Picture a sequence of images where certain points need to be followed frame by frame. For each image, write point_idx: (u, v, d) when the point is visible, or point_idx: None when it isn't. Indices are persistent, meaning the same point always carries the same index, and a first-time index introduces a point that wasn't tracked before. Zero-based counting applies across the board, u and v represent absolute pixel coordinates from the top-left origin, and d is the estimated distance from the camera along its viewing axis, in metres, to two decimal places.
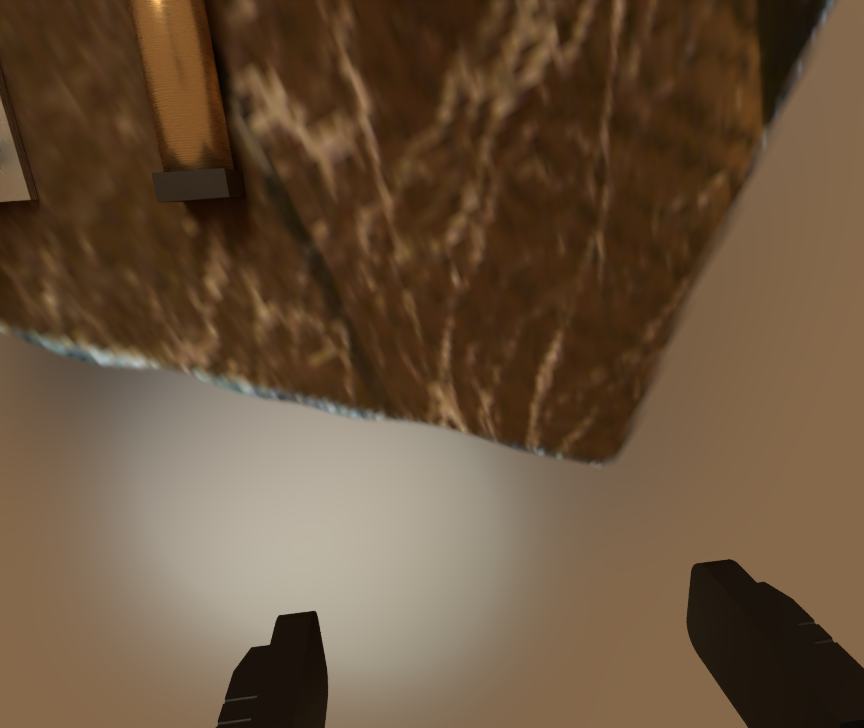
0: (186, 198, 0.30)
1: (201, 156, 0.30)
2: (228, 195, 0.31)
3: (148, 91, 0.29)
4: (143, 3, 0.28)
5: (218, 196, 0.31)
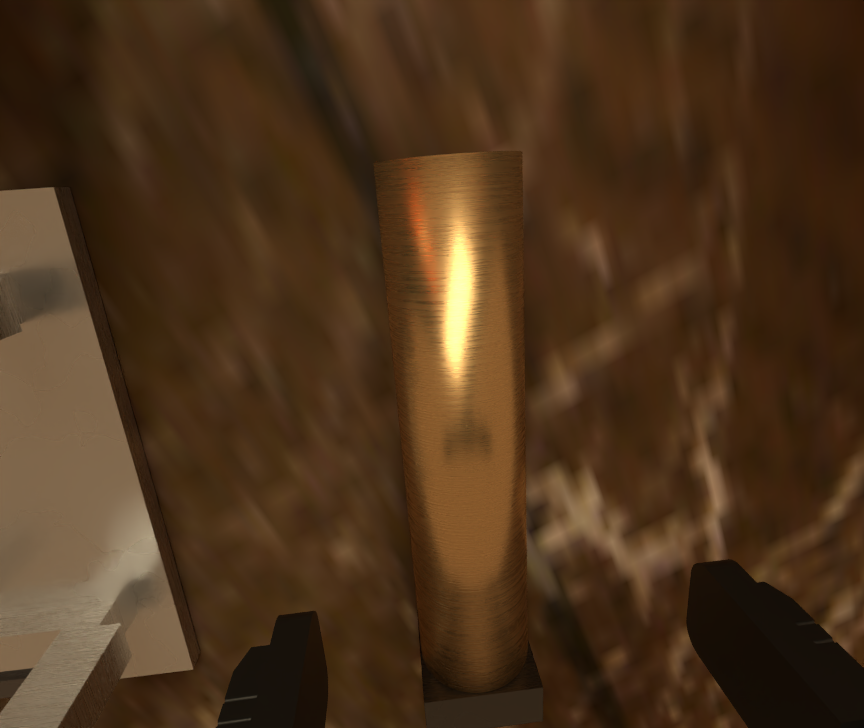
0: None
1: (505, 668, 0.18)
2: (541, 718, 0.18)
3: (426, 578, 0.17)
4: (451, 479, 0.15)
5: (525, 722, 0.18)
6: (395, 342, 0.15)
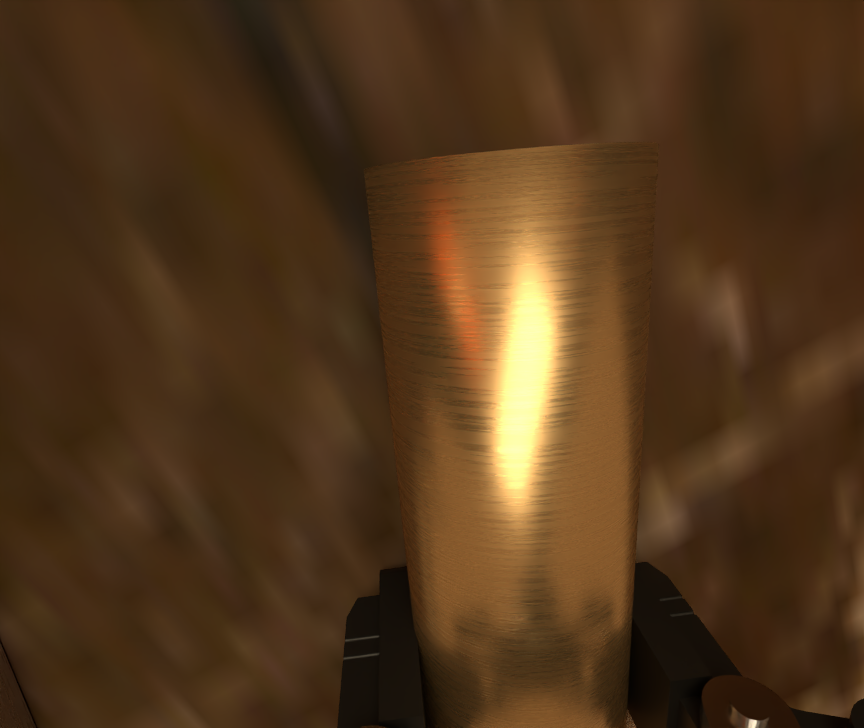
0: None
1: None
2: None
3: None
4: None
5: None
6: (407, 499, 0.08)
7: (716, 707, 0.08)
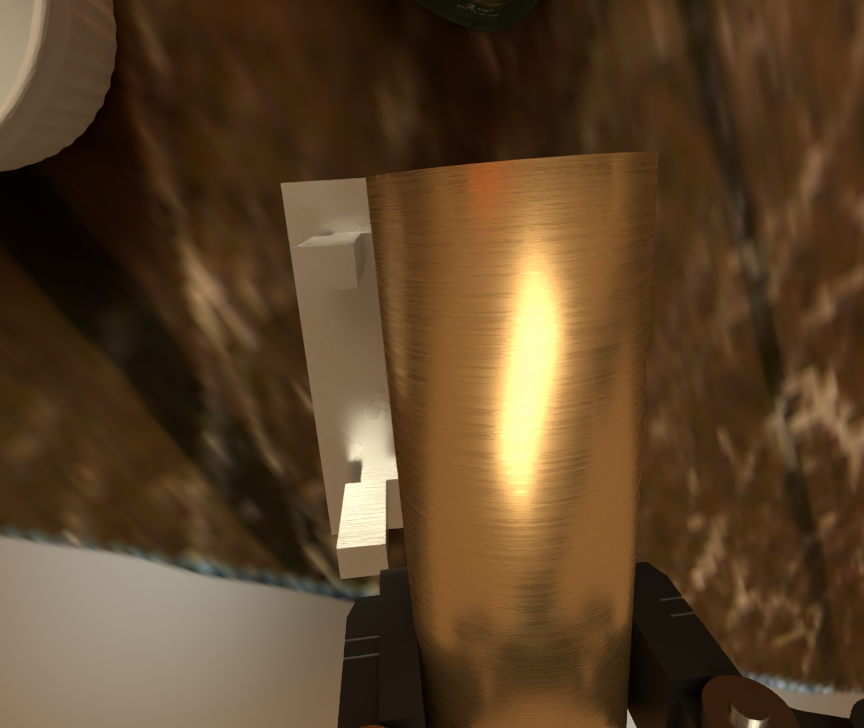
0: None
1: None
2: None
3: None
4: None
5: None
6: (408, 505, 0.08)
7: (716, 707, 0.08)
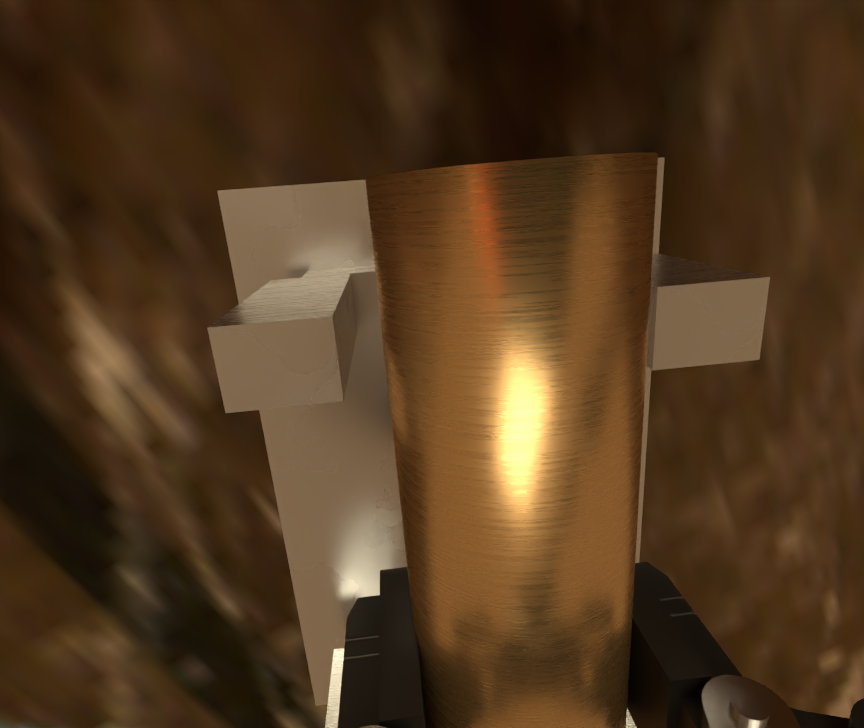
0: None
1: None
2: None
3: None
4: None
5: None
6: (408, 505, 0.08)
7: (716, 707, 0.08)
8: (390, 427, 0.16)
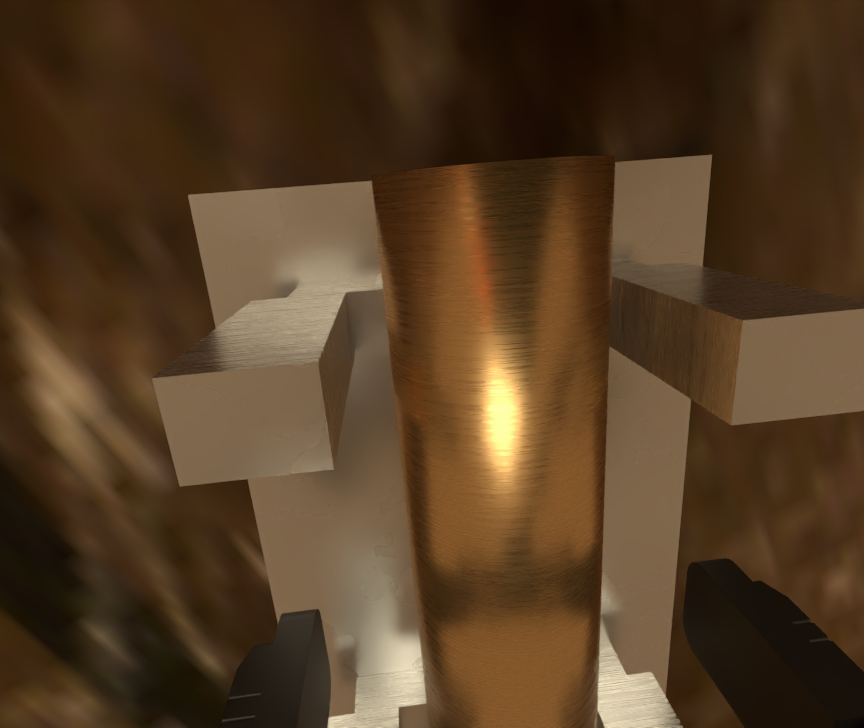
0: None
1: None
2: None
3: None
4: (496, 668, 0.10)
5: None
6: (408, 457, 0.09)
7: None
8: (392, 465, 0.14)
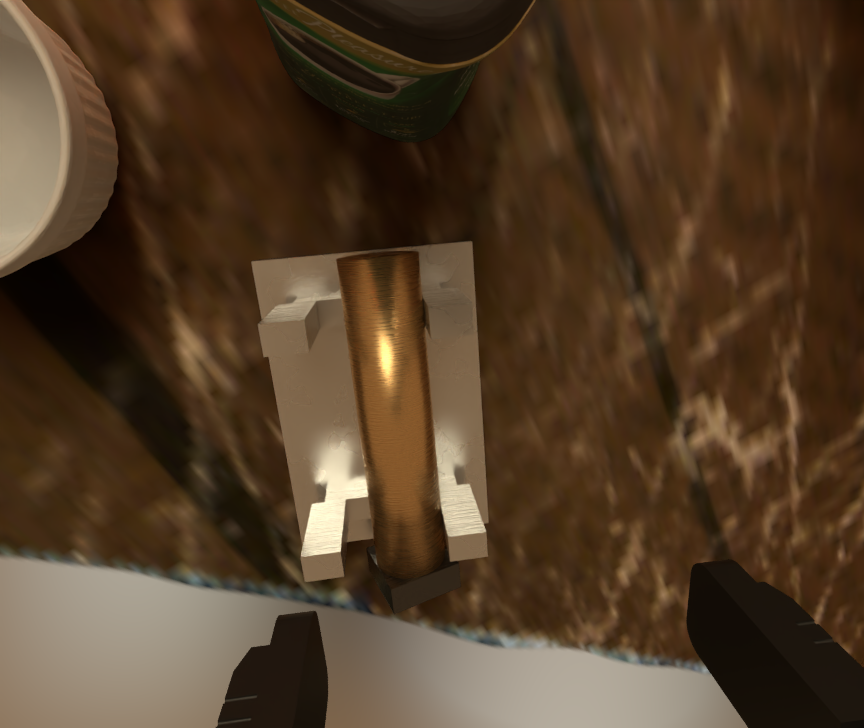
0: (421, 601, 0.29)
1: (436, 556, 0.29)
2: (459, 585, 0.30)
3: (384, 506, 0.27)
4: (398, 437, 0.26)
5: (451, 589, 0.29)
6: (357, 361, 0.25)
7: None
8: (340, 380, 0.30)
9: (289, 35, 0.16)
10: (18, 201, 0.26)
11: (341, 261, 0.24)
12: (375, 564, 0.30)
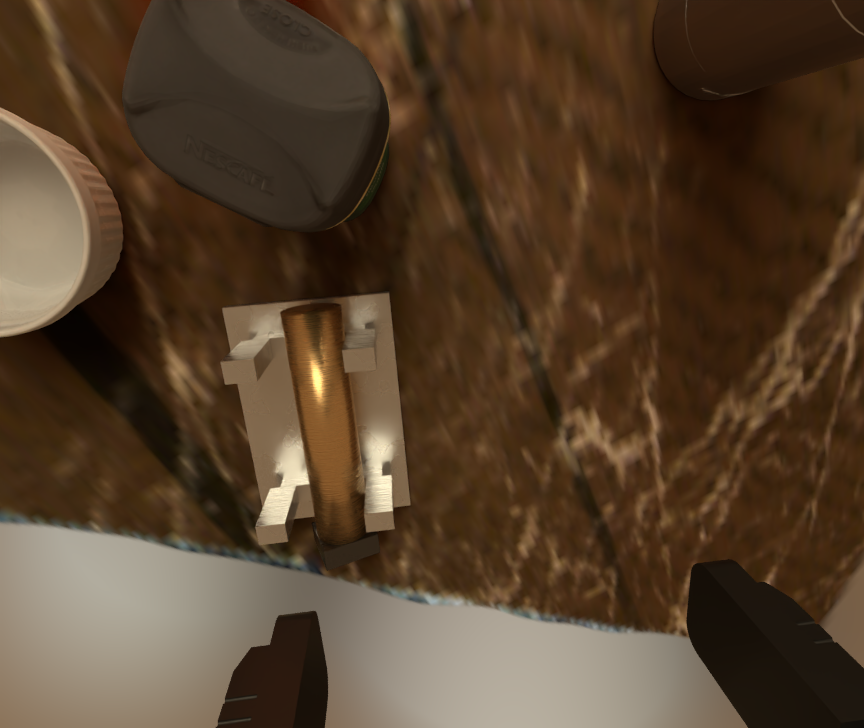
0: (348, 562, 0.38)
1: (359, 528, 0.38)
2: (379, 551, 0.39)
3: (318, 491, 0.37)
4: (326, 441, 0.35)
5: (372, 554, 0.39)
6: (296, 385, 0.35)
7: None
8: (291, 395, 0.40)
9: None
10: (51, 265, 0.35)
11: (282, 315, 0.34)
12: (316, 534, 0.40)
